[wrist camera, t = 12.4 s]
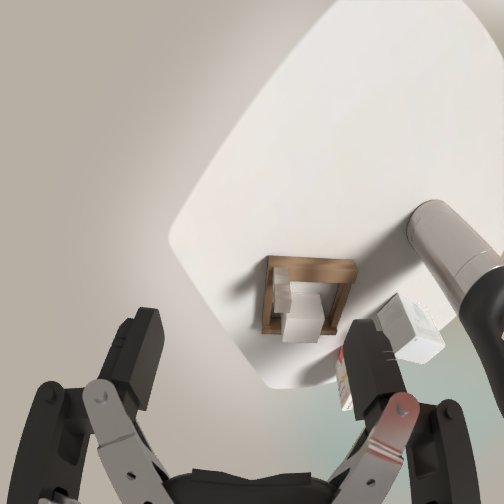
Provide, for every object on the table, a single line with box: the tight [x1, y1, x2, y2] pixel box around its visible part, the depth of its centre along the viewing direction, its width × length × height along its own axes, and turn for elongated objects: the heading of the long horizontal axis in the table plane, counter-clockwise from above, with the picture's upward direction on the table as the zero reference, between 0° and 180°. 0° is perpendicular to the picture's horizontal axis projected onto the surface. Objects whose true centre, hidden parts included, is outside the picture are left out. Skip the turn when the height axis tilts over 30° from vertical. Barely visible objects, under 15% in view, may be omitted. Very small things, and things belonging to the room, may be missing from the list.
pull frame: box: [262, 256, 358, 335], centre depth 43 cm, size 13×15×10 cm
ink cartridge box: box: [335, 346, 354, 411], centre depth 52 cm, size 9×5×15 cm, turn 3°
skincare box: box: [377, 293, 445, 365], centre depth 46 cm, size 10×6×10 cm, turn 64°
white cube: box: [281, 293, 325, 343], centre depth 47 cm, size 6×6×6 cm
